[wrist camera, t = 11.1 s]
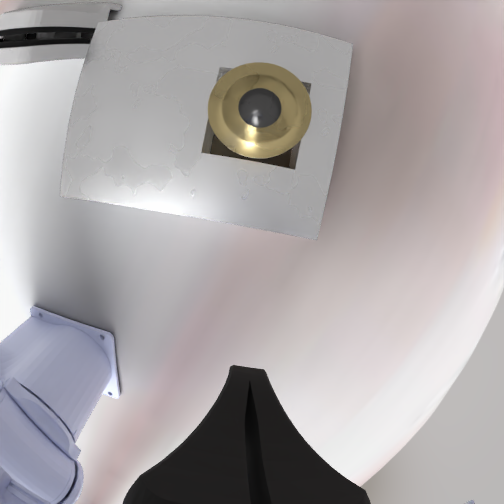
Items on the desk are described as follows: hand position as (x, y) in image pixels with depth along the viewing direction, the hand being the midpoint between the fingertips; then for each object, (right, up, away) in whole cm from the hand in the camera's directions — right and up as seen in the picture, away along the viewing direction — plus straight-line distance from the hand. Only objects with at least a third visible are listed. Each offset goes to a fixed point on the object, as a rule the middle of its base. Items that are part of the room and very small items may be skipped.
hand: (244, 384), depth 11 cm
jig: (-3, +14, +6) cm, 15 cm away
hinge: (-19, +24, +3) cm, 30 cm away
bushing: (+1, +13, +6) cm, 14 cm away
